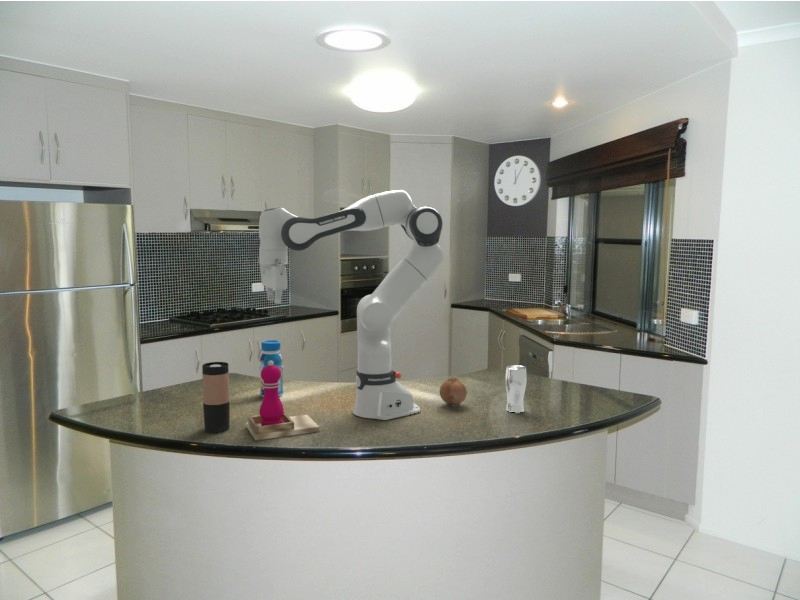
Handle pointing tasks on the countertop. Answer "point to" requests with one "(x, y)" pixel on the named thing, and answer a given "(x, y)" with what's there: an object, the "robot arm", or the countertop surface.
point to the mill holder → (281, 427)
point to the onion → (453, 391)
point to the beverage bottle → (271, 353)
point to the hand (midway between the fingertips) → (274, 302)
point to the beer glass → (515, 387)
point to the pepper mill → (271, 396)
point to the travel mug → (216, 396)
